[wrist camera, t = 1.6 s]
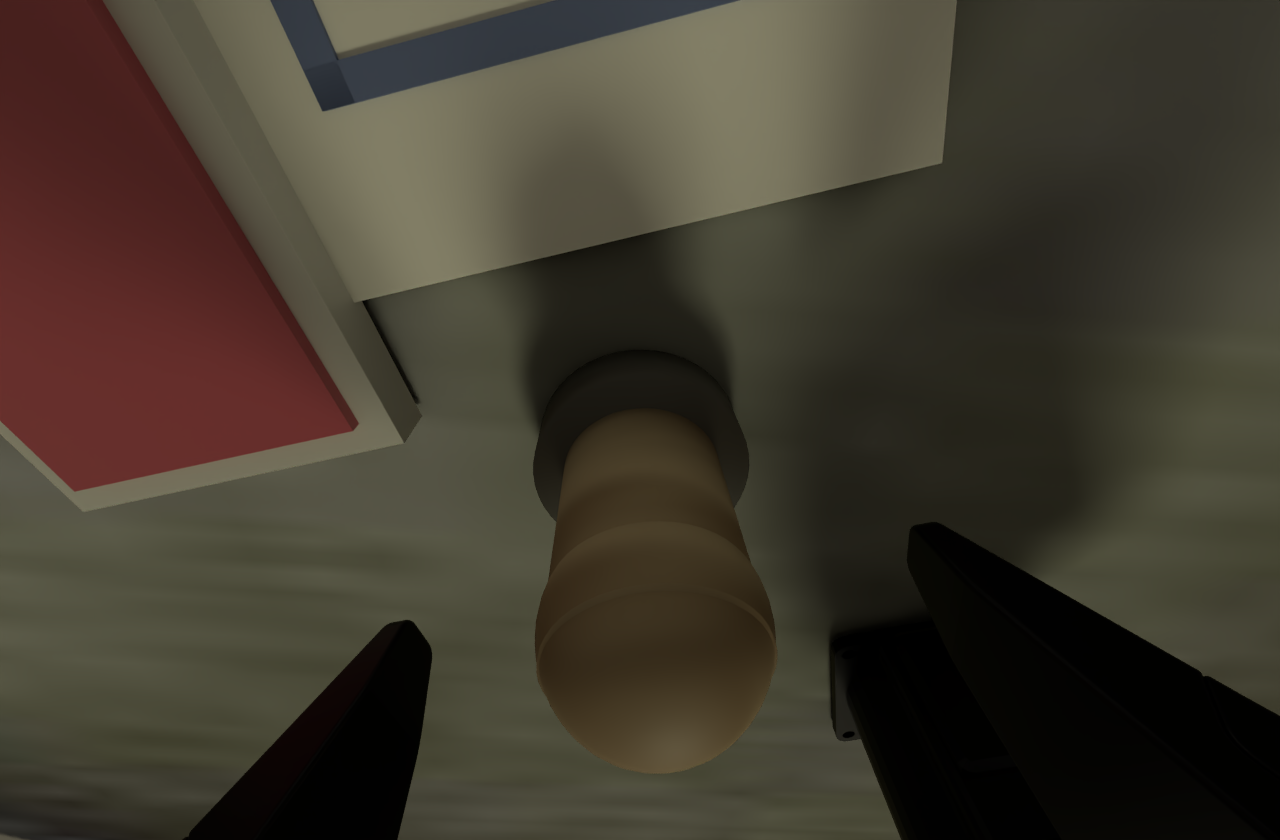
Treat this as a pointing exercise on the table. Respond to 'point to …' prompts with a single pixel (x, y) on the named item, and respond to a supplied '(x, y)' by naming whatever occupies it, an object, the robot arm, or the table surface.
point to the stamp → (649, 566)
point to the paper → (573, 116)
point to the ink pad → (164, 269)
